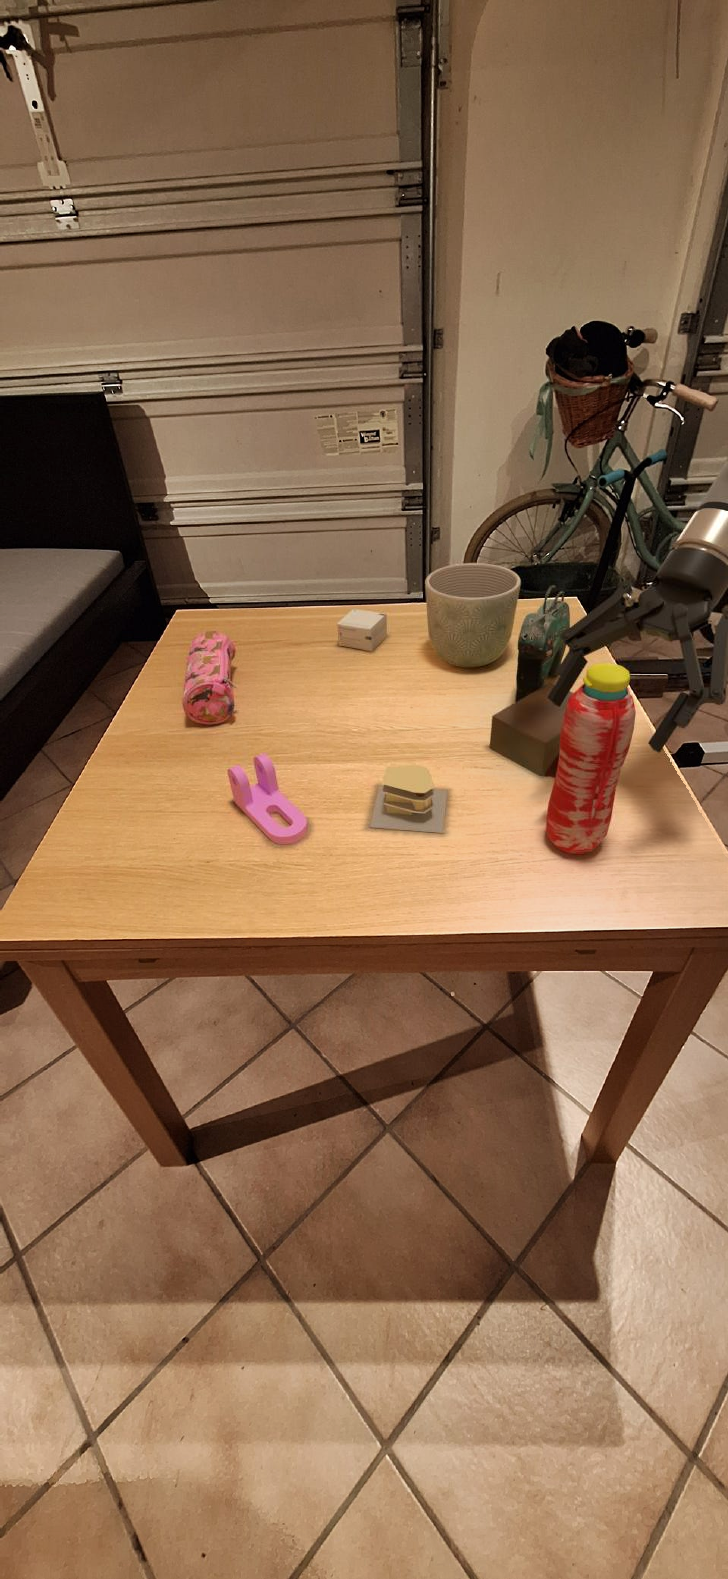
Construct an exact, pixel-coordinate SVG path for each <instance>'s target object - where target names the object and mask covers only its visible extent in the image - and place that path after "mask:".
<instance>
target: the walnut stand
mask: <svg viewBox="0 0 728 1579" xmlns="http://www.w3.org/2000/svg"><path fill="white" fill-rule="evenodd" d="M554 685H555V684H554V683H552V682H549V683H547V684H545V686H544V687H542V688H540V689H538V690H537V691H535V692H533V693H531V694H530V695H528V696H526V697H524V698H523V699H521V700H519V701H517V702H516V703H515V702H514V703H512V704H510V705H509V706H507V707H505V708H503V709H502V710H500V711H498V712H496V713H495V714H493V715H491V725H490V738H489V749H491V750H492V751H494V752H496V753H498V754H500V755H501V756H504V757H506V758H507V759H509V760H510V761H513V762H514V763H516V764H518V765H520V766H521V767H523V768H526V769H527V770H529V771H531V772H533V774H534V773H535V774H537V775H538V776H540V777H543V775H544V774H545V772H546V771H547V769H548V768H549V766H550V765H551V764H552V762H553V761H554V759H555V758H556V756H557V755H558V753H559V751H560V734H561V729H562V723H563V718H564V713H565V710H566V706H567V704H568V698H569V697H571V696H572V695H573V693H574V692H573V691H571V690H570V691H569V693H568V694H567V696H566V698H565V699H564V701H563V702H562V704H561V706H560V707H559V706H556V705H555V704H553V703H552V702H551V701H550V700H549V699H548V698H547V697H548V695H549V694H550V692H551V690H552V689H553V687H554Z"/></svg>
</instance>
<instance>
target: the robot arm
mask: <svg viewBox="0 0 728 1579" xmlns="http://www.w3.org/2000/svg"><path fill="white" fill-rule="evenodd" d="M673 547H674V548H673V549H671V551H669V553H668V554H667V556H666V558H665V559H664V561H663V562H662V563H661V566H660V567H659V569H658V570H657V572H656V574H654V577H653V580H652V582H651V583H650V585H649V586H648V587H647V588H646V589H644V590H641V589H639V588H636V587H634V586H633V585H632V583H631V582H630V581H629V580H624V581H622V582H621V583H620V584H619V586H618V587H617V588H616V589H615V591H614V593H613V594H612V595H611V596H610V597H608V598H607V599H606V600H605V601H603V602H601V603H600V604H599V605H598V606H596V607H595V608H594V609H592V610H591V611H590V612H588V613H587V614H586V615H584V616H583V617H582V618H581V619H580V620H578V621H577V622H575V623H574V624H573V625H572V626H570V628H569V629H568V630H566V631H565V632H564V633H563V634H562V636H561V638H562V640H563V641H564V642H565V644H566V647H567V648H568V651H567V653H566V655H565V656H564V657H563V658H564V659H562V661H561V665H560V666H559V668H558V672H557V673H558V675H559V677H558V679H557V681H556V682H555V684H554V687H553V689H552V690H551V692H550V694H549V695H548V697H547V698H548V699H549V700H550V701H551V702H552V703H553V704H555V705H556V706H559V707H560V706H561V704H562V702H563V701H564V699H565V698H566V696H567V694H568V693H569V691H571V689H572V688H573V686H574V685H575V683H576V682H577V680H578V679H579V677H580V675H581V674H582V672H583V670H584V669H585V667H586V666H587V664H588V661H589V660H587V659H586V656H588V655H591V654H593V653H594V652H597V651H599V650H601V649H603V648H605V647H607V646H609V645H611V644H614V643H616V642H617V641H620V640H622V639H624V638H626V637H628V636H630V635H638V634H639V633H641V632H644V631H645V633H646V635H648V636H652V637H660V638H662V640H665V641H666V642H669V643H673V642H676V641H679V644H680V649H681V654H682V659H683V663H684V669H685V673H686V678H687V683H688V688H689V694H688V693H686V692H683V691H680V693H679V694H678V696H677V698H676V699H675V701H674V702H673V703H672V705H671V707H670V708H669V710H668V711H667V713H666V714H665V715H664V717H663V719H662V720H661V722H660V723H659V725H658V726H657V728H656V730H655V731H654V733H653V735H652V736H651V738H650V739H649V741H648V742H647V744H648V745H649V747H650V748H651V749H652V750H653V751H654V752H657V753H661V751H662V750H663V748H664V747H665V745H666V744H667V742H668V741H669V739H671V736H672V734H673V733H674V732H675V730H676V728H677V727H678V728H680V729H685V728H687V727H688V726H689V724H690V722H691V721H692V719H693V718H694V717H695V715H696V714H697V712H698V711H699V709H700V708H701V706H703V705H704V704H714V705H717V706H721V705H723V704H725V702H726V700H727V688H728V610H726V611H724V612H722V613H721V612H714V609H715V607H716V606H717V605H718V604H719V602H720V601H721V599H722V597H723V596H724V594H725V592H726V591H727V590H728V457H727V458H726V460H725V463H724V465H723V466H722V468H721V469H720V471H719V473H718V474H717V476H716V478H715V479H714V481H713V482H712V483H711V486H710V487H709V488H708V491H707V492H706V494H705V495H704V496H703V499H702V500H701V502H700V504H699V505H698V506H697V508H696V510H695V512H694V513H693V514H692V517H691V518H690V519H689V521H688V522H687V524H686V526H685V527H684V528H683V530H682V532H681V533H680V535H679V537H678V538H677V539H676V541H675V542H674V545H673ZM634 603H638V604H637V605H638V607H636V608H634V609H632V610H630V611H627V612H625V614H624V615H623V617H620V618H618V619H616V620H614V621H612V620H613V619H615V618H616V617H617V616H619V615H620V614H621V613H622V612H623V611H625V609H627V607H632V606H634ZM610 621H612V622H610ZM709 624H710V625H711V630H712V633H713V645H712V646H713V647H712V659H711V672H710V687H705V685H704V681H703V676H702V670H701V666H700V661H699V657H698V653H697V646H696V642H695V637H694V633H695V632H697V631H699V630H701V629H703V628H704V627H707V626H708V625H709Z"/></svg>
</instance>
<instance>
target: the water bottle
mask: <svg viewBox="0 0 728 1579" xmlns="http://www.w3.org/2000/svg"><path fill="white" fill-rule="evenodd" d="M582 681H583V683H582V684H581V685H580V686H579V687H578V688H577V689H576V690H575V691H574V692H573V695H572V696H571V697H569V698H568V704H567V706H566V710H565V713H564V718H563V723H562V729H561V734H560V751H559V753H558V755H557V756H556V758H555V759H554V761H553V762H552V764H551V765H550V766H549V768H548V769H547V771H546V772H545V774H543V775H542V777H545V778H546V777H547V778H554V781H553V785H552V788H551V792H550V796H549V800H548V804H547V811H546V818H545V829H546V833H547V836H548V839H549V840H550V841H551V842H552V844H553V845H554V847H556V848H557V849H558V850H560V851H562V852H563V853H566V854H571V855H583V854H587V853H590V852H593V851H594V850H595V849H596V848H597V846H599V845H600V843H601V842H602V841H603V839H605V837H606V836H607V835H608V831H609V828H610V825H611V822H612V817H613V809H614V803H615V799H616V798H615V796H616V790H617V787H618V786H617V785H618V783H619V778H620V775H621V771H622V768H623V766H624V763H625V762H626V761H625V760H626V758H627V755H628V754H629V750H630V747H631V742H632V738H633V735H634V730H635V724H636V723H635V722H636V713H637V711H636V705H635V700H634V698H633V695H632V694H631V692H630V688H628V687H629V685H630V681H631V674H630V671H629V670H628V669H626V668H625V667H624V666H623V665H619V664H617V663H614V662H613V663H612V662H599V663H595V664H592V665H591V666H590V667H588V668H587V670H586V674H585V675H584V676H583V677H582Z"/></svg>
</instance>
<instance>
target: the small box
mask: <svg viewBox="0 0 728 1579" xmlns="http://www.w3.org/2000/svg"><path fill="white" fill-rule="evenodd" d="M387 619H388V614H387V613H383V612H376V611H372V610H365V609H357V608H352V609H351V610H350V611H349V612H348V613H347V614H346V615H345V616H344V617H343V618H342V619H340V620H339V621H338V622H337V623H336V624H337V626H336V627H337V639H338V646H340V647H347V648H352V649H358V650H363V651H367V652H371V653H372V652H373V651H374V650H375V649H376V648H377V647H378V646H379V645H380V644H381V643H382V642H383V641H384V640H385V639H386V638H387V636H388V623H387V622H388V620H387Z"/></svg>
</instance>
